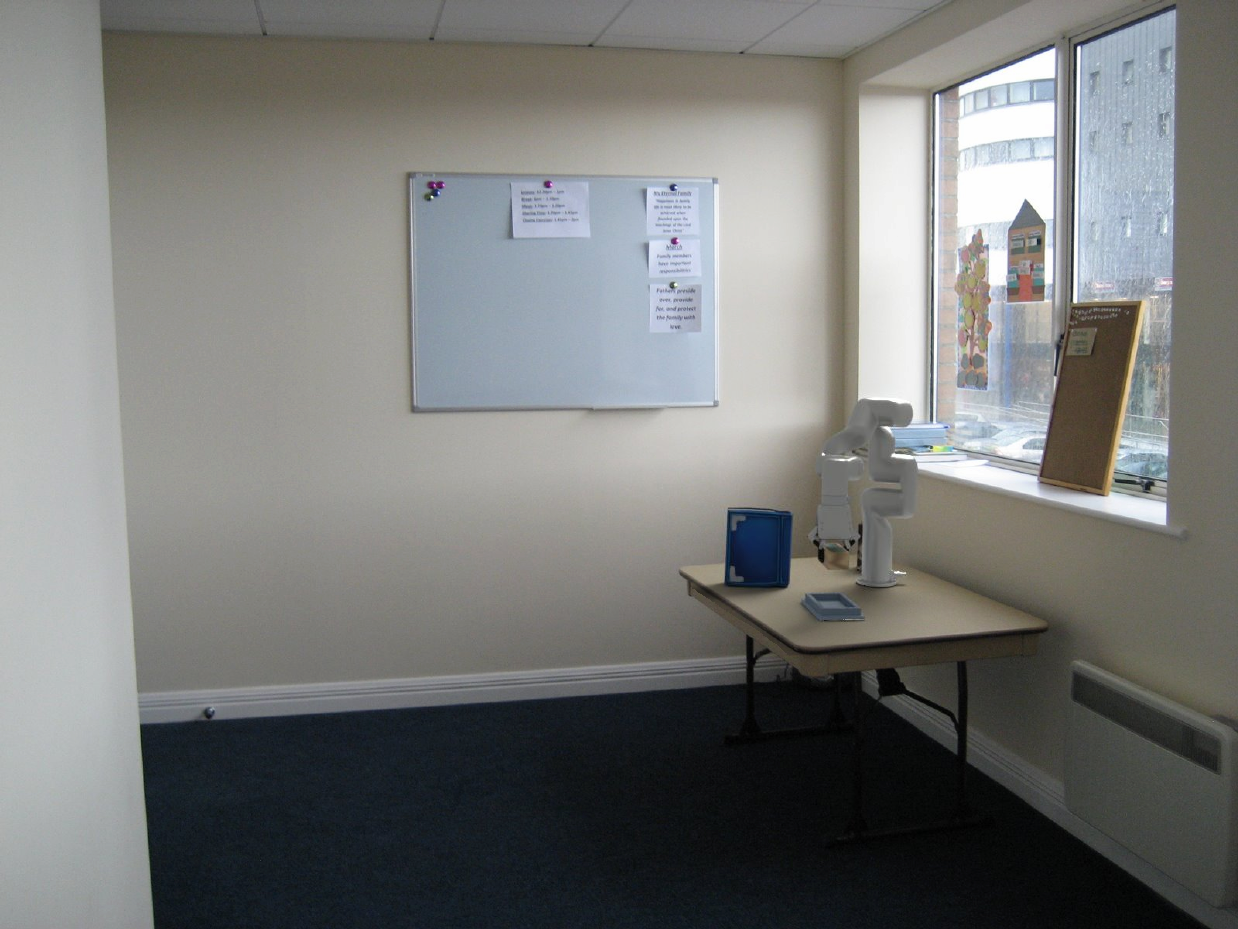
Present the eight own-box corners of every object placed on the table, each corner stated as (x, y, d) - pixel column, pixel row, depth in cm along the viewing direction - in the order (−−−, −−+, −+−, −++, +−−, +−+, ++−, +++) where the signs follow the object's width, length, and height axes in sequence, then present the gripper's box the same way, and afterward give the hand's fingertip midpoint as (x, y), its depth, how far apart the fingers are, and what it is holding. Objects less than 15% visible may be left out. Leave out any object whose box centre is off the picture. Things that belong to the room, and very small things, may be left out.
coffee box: (856, 570, 378) (857, 523, 376) (859, 566, 384) (860, 521, 382) (883, 572, 374) (884, 525, 373) (885, 568, 380) (887, 522, 379)
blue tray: (843, 601, 332) (843, 591, 332) (864, 620, 310) (865, 609, 310) (801, 602, 331) (801, 592, 331) (819, 621, 309) (819, 610, 309)
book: (791, 583, 357) (792, 507, 354) (792, 588, 350) (793, 511, 347) (724, 582, 359) (725, 506, 356) (724, 586, 352) (725, 509, 349)
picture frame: (838, 559, 326) (838, 542, 325) (848, 569, 312) (849, 552, 311) (818, 559, 326) (818, 542, 325) (828, 569, 312) (828, 552, 311)
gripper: (860, 498, 321) (858, 559, 323) (802, 499, 320) (800, 559, 322) (867, 502, 314) (866, 564, 316) (808, 502, 312) (807, 564, 315)
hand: (833, 561), depth 319 cm, fingers closed on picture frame, 6 cm apart
